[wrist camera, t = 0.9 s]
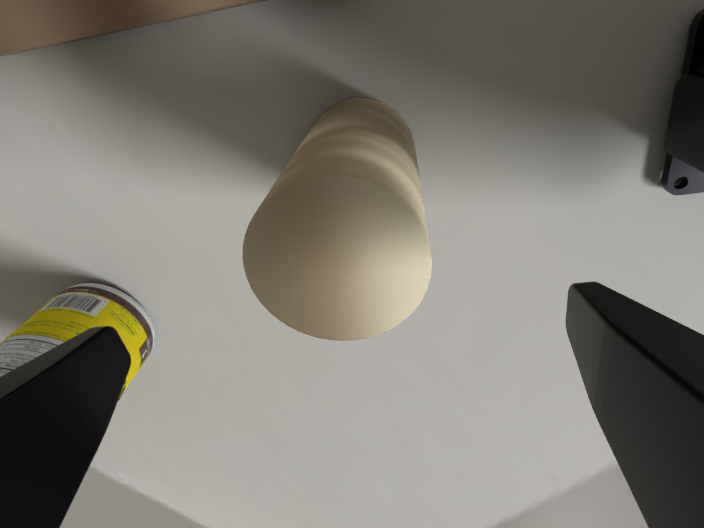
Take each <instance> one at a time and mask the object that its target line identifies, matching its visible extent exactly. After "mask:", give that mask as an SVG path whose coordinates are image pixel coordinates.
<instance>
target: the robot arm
mask: <svg viewBox="0 0 704 528" xmlns="http://www.w3.org/2000/svg"><path fill="white" fill-rule="evenodd" d="M664 149H665V150H666V151H667V156H666V161H665V166H664V172H663V177H662V187H663V188H664V189H665V190H666V191H668V192H669V193H671V194H673V195H684V194H692V193H701V192H704V9H703V10H702V11H701V12H699V13H698V14H697V15H696V17H695V18H694V19H693V21H692V24H691V26H690V32H689V37H688V42H687V48H686V53H685V58H684V64H683V69H682V75H681V77H680V78H679V79H678V80H677V82H676V84H675V89H674V95H673V100H672V106H671V111H670V117H669V122H668V128H667V133H666V139H665V144H664ZM680 177H683V179H682V181H681V182H680V183H679V184H678V185H675V186H674V183H675V181H676V180H677V179H678V178H680ZM566 329H567V334H568V337H569V340H570V343H571V346H572V349H573V352H574V355H575V358H576V361H577V364H578V367H579V370H580V373H581V376H582V379H583V382H584V385H585V388H586V391H587V394H588V397H589V400H590V403H591V405H592V408H593V411H594V413H595V415H596V417H597V420H598V422H599V424H600V426H601V428H602V430H603V433H604V435H605V437H606V439H607V441H608V443H609V445H610V447H611V449H612V452H613V454H614V456H615V458H616V460H617V462H618V464H619V466H620V468H621V470H622V473H623V475H624V477H625V479H626V481H627V483H628V485H629V487H630V489H631V492H632V494H633V496H634V498H635V500H636V502H637V504H638V506H639V508H640V510H641V512H642V515H643V517H644V519H645V521H646V523H647V525H648V527H649V528H704V335H702V334H700V333H698V332H696V331H694V330H692V329H690V328H688V327H686V326H684V325H682V324H680V323H678V322H676V321H674V320H672V319H670V318H668V317H666V316H664V315H662V314H660V313H658V312H656V311H654V310H652V309H650V308H648V307H646V306H644V305H642V304H640V303H638V302H636V301H634V300H632V299H630V298H628V297H626V296H624V295H622V294H620V293H618V292H616V291H614V290H612V289H610V288H608V287H606V286H604V285H602V284H600V283H598V282H584V283H574V284H572V285H571V286H570V288H569V290H568V300H567V312H566ZM130 367H131V356H130V353H129V351H128V350H127V348H126V346H125V344H124V343H123V341H122V339H121V337H120V335H119V334H118V332H117V330H116V329H115V328H113V327H111V326H100V327H92V328H90V329H88V330H86V331H84V332H82V333H80V334H78V335H76V336H75V337H73V338H71V339H69V340H67V341H65V342H64V343H62V344H60V345H58V346H56V347H54V348H52V349H51V350H49V351H47V352H45V353H43V354H41V355H40V356H38V357H36V358H34V359H32V360H30V361H29V362H27V363H25V364H23V365H21V366H19V367H17V368H16V369H14V370H12V371H10V372H8V373H6V374H5V375H3V376H1V377H0V528H60V526H61V524H62V522H63V519H64V517H65V515H66V513H67V511H68V509H69V507H70V505H71V503H72V501H73V499H74V497H75V495H76V493H77V491H78V488H79V486H80V484H81V483H82V480H83V478H84V476H85V474H86V472H87V470H88V468H89V466H90V464H91V462H92V460H93V458H94V456H95V454H96V452H97V450H98V448H99V445H100V443H101V441H102V439H103V437H104V435H105V433H106V430H107V428H108V425H109V423H110V420H111V417H112V415H113V412H114V409H115V407H116V404H117V401H118V399H119V396H120V393H121V391H122V388H123V385H124V383H125V380H126V377H127V375H128V372H129V369H130Z"/></svg>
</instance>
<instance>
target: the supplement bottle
mask: <svg viewBox="0 0 704 528" xmlns="http://www.w3.org/2000/svg"><path fill="white" fill-rule="evenodd" d="M100 326H111V327H113V328H115V329H116V330H117V332H118V334H119V335H120V337H121V339H122V341H123V343H124V344H125V346H126V348H127V350H128V351H129V353H130V356H131V367H130V369H129V372H128V375H127V377H126V380H125V383H124V385H123V388H122V391H121V393H120V396H119V399H120V398H121V396H122V394H123V393H124V391H125V390H126V388H127V387H128V385H129V384H130V382H131V381H132V379H133V378H134V376H135V375H136V374H137V372H138V371H139V369H140V368H141V366H142V365H143V363H144V362H145V360H146V359H147V357H148V356H149V354H150V353H151V351H152V349H153V346H154V341H155V331H154V326H153V324H152V321H151V319H150V317H149V315H148V314H147V312H146V311H145V310H144V309H143V307H142V306H141V305H140V304H139V303H138V302H136V301H135V300H134V299H133V298H131V297H130V296H129V295H127V294H125V293H124V292H122V291H120V290H117V289H115V288H113V287H110V286H106V285H102V284H95V283H83V284H77V285H73V286H70V287H68V288H66V289H64V290H62V291H61V292H60V293H58V294H57V295H56V296H54V297H53V298H52V299H51V300H50V301H49V302H48V303H46V304H45V305H44V306H43V307H42V308H41V309H40V310H38V311H37V312H36V313H35V314H34V315H33V316H31V317H30V318H29V319H28V320H27V321H26V322H25V323H23V324H22V325H21V326H20V327H19V328H18V329H16V330H15V331H14V332H13V333H12V334H11V335H9V336H8V337H7V338H6V339H5V340H4V341H3V342H2V343H0V377H1V376H3V375H5V374H6V373H8V372H10V371H12V370H14V369H16V368H17V367H19V366H21V365H23V364H25V363H27V362H29V361H30V360H32V359H34V358H36V357H38V356H40V355H41V354H43V353H45V352H47V351H49V350H51V349H52V348H54V347H56V346H58V345H60V344H62V343H64V342H65V341H67V340H69V339H71V338H73V337H75V336H76V335H78V334H80V333H82V332H84V331H86V330H88V329H90V328H92V327H100ZM119 399H118V400H119ZM117 402H118V401H117Z"/></svg>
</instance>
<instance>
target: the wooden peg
mask: <svg viewBox="0 0 704 528" xmlns="http://www.w3.org/2000/svg"><path fill="white" fill-rule="evenodd" d="M243 263H244V269H245V273H246V277H247V279H248V282H249V284H250V286H251V288H252V290H253V292H254V293H255V295H256V297H257V298H258V299H259V301H260V302H261V303H262V305H263V306H264V307H265V308H266V309H267V310H268V311H269V312H270V313H271V314H272V315H274V316H275V317H276V318H277V319H279V320H280V321H282V322H283V323H285V324H286V325H288V326H289V327H291V328H293V329H295V330H297V331H300V332H302V333H305V334H307V335H310V336H314V337H317V338H322V339H328V340H339V341H346V340H358V339H365V338H369V337H373V336H376V335H379V334H381V333H384V332H386V331H388V330H390V329H392V328H394V327H395V326H397V325H398V324H400V323H401V322H403V321H404V320H405V319H406V318H407V317H408V316H410V315H411V314H412V312H413V311H414V310H415V309H416V308H417V307H418V305H419V304H420V302H421V301H422V299H423V297H424V295H425V293H426V291H427V288H428V285H429V282H430V278H431V271H432V256H431V250H430V243H429V237H428V230H427V224H426V217H425V210H424V204H423V197H422V191H421V184H420V177H419V171H418V164H417V158H416V151H415V145H414V139H413V136H412V133H411V131H410V129H409V127H408V125H407V123H406V122H405V120H404V119H403V118H402V117H401V116H400V115H399V114H398V113H397V112H396V111H395V110H394V109H392V108H391V107H389V106H388V105H386V104H384V103H382V102H379V101H376V100H373V99H367V98H353V99H347V100H343V101H341V102H338V103H336V104H334V105H333V106H331V107H329V108H328V109H327V110H325V111H324V112H323V113H322V114H321V115H320V116H319V117H318V119H317V120H316V121H315V123H314V124H313V126H312V127H311V129H310V130H309V132H308V133H307V135H306V136H305V138H304V140H303V141H302V143H301V144H300V146H299V147H298V149H297V150H296V152H295V153H294V155H293V156H292V158H291V159H290V161H289V162H288V164H287V166H286V167H285V169H284V170H283V172H282V173H281V175H280V176H279V178H278V179H277V181H276V182H275V184H274V185H273V187H272V188H271V190H270V191H269V193H268V195H267V196H266V198H265V199H264V201H263V202H262V204H261V205H260V207H259V208H258V210H257V211H256V213H255V214H254V216H253V218H252V220H251V222H250V223H249V225H248V228H247V231H246V234H245V238H244V243H243Z"/></svg>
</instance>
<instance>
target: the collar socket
mask: <svg viewBox="0 0 704 528" xmlns="http://www.w3.org/2000/svg"><path fill="white" fill-rule="evenodd" d="M259 1H264V0H0V56H3V55H8V54H13V53H18V52H22V51H27V50H32V49H36V48H41V47H46V46H51V45H55V44H60V43H65V42H70V41H74V40H79V39H84V38H89V37H93V36H98V35H103V34H108V33H112V32H117V31H122V30H127V29H131V28H136V27H141V26H146V25H150V24H155V23H160V22H165V21H169V20H174V19H179V18H184V17H188V16H193V15H198V14H202V13H207V12H212V11H217V10H221V9H226V8H231V7H236V6H240V5H245V4H250V3H255V2H259Z"/></svg>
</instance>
